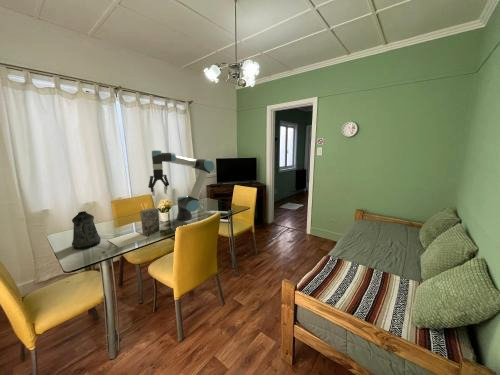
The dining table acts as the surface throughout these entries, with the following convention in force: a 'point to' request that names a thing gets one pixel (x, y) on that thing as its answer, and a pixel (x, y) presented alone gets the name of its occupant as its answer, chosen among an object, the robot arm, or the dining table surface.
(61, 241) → the dining table surface
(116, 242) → the mat
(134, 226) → the dining table surface
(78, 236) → the black drawstring bag
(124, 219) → the dining table surface
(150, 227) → the stone block
